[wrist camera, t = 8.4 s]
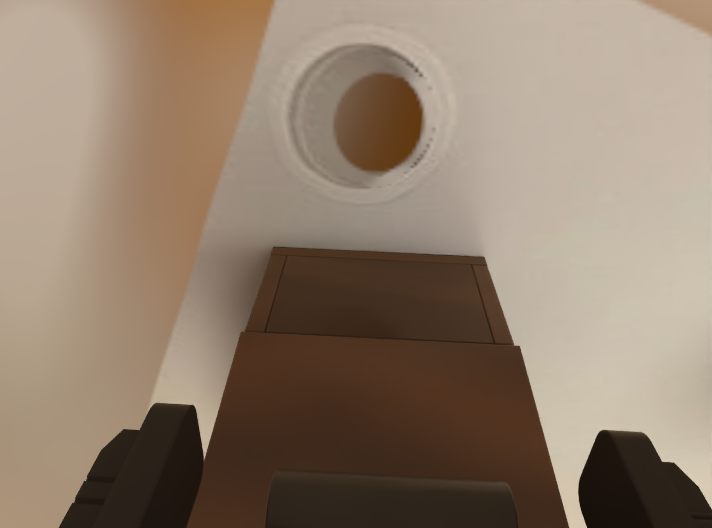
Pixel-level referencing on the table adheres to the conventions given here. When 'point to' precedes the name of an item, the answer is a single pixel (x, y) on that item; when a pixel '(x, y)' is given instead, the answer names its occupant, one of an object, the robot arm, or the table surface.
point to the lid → (376, 438)
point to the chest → (379, 297)
